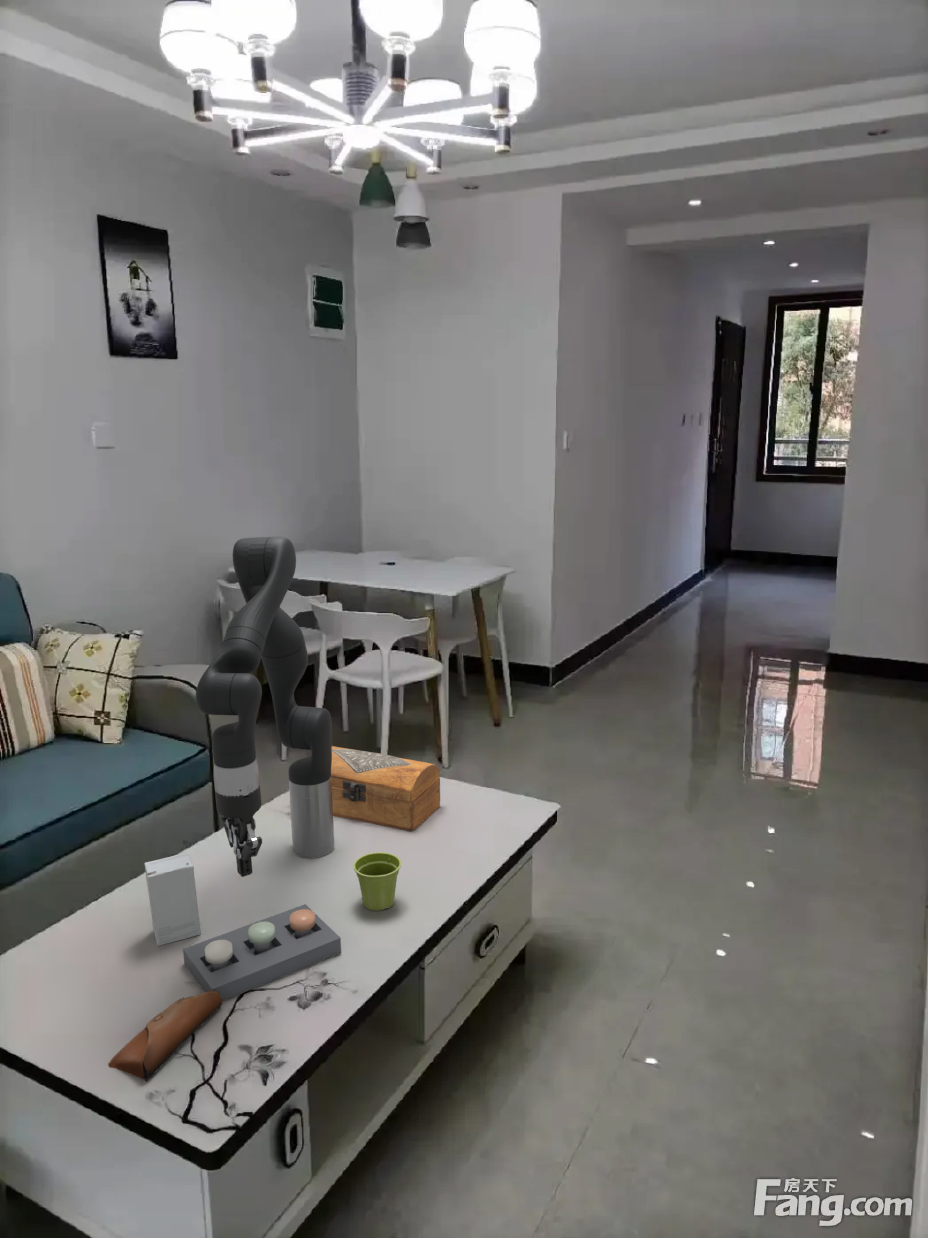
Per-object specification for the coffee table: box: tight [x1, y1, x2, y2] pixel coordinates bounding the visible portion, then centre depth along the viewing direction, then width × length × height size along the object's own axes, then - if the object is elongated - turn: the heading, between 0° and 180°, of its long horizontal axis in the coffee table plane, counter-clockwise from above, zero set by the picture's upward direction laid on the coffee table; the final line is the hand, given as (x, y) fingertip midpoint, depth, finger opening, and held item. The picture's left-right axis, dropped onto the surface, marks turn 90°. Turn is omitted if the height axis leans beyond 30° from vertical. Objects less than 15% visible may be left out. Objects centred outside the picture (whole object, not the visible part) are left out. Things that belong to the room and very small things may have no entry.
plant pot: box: [352, 851, 402, 912], centre depth 176 cm, size 9×9×9 cm
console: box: [182, 903, 342, 1002], centre depth 159 cm, size 14×24×3 cm, turn 127°
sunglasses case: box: [108, 991, 223, 1082], centre depth 139 cm, size 18×7×7 cm
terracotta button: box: [290, 909, 316, 939], centre depth 163 cm, size 5×5×4 cm
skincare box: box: [144, 852, 202, 947], centre depth 165 cm, size 8×6×15 cm
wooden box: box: [331, 745, 441, 832], centre depth 216 cm, size 30×16×14 cm, turn 65°
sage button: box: [248, 921, 275, 955], centre depth 158 cm, size 5×5×4 cm
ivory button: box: [205, 940, 233, 972], centre depth 154 cm, size 5×5×4 cm
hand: (245, 873), depth 156 cm, fingers closed
